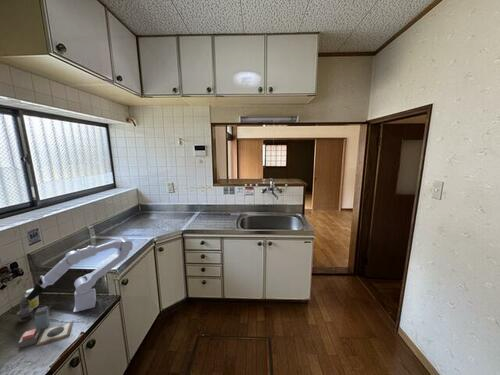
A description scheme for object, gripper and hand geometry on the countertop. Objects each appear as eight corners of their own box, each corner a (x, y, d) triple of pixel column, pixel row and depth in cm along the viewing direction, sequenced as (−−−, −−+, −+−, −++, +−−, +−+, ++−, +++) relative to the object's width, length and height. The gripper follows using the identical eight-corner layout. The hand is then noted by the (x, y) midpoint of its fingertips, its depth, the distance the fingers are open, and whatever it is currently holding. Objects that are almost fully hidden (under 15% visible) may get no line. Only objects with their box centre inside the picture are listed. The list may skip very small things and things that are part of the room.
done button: (36, 332, 99) (36, 328, 99) (34, 338, 96) (33, 333, 96) (25, 335, 97) (25, 331, 97) (22, 341, 94) (22, 337, 94)
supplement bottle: (41, 304, 121) (40, 288, 120) (29, 310, 116) (27, 294, 115) (35, 302, 123) (33, 286, 122) (22, 308, 118) (21, 292, 117)
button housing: (40, 334, 101) (40, 329, 101) (36, 342, 96) (36, 337, 96) (23, 339, 98) (23, 333, 98) (18, 348, 93) (18, 342, 93)
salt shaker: (23, 322, 108) (21, 300, 106) (14, 320, 109) (12, 298, 107) (36, 314, 113) (35, 293, 112) (28, 313, 114) (26, 291, 113)
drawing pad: (72, 322, 109) (72, 320, 108) (69, 336, 100) (68, 334, 100) (43, 331, 103) (43, 329, 103) (36, 346, 94) (36, 344, 94)
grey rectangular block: (49, 322, 108) (48, 305, 107) (47, 327, 105) (46, 310, 104) (38, 325, 106) (37, 308, 105) (35, 330, 103) (34, 313, 102)
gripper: (51, 265, 116) (25, 288, 109) (47, 270, 104) (17, 297, 98) (63, 272, 118) (39, 295, 112) (60, 278, 107) (33, 305, 100)
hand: (30, 296), depth 105 cm, fingers open, 7 cm apart
